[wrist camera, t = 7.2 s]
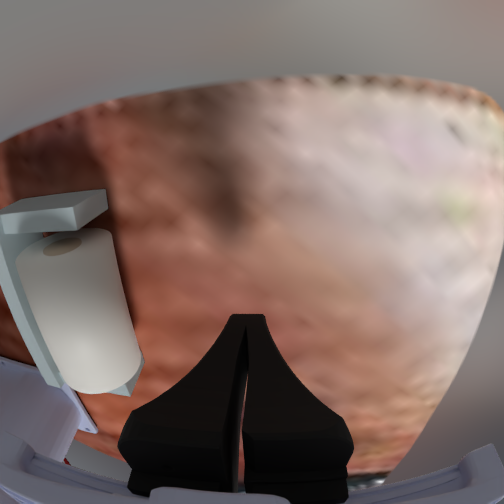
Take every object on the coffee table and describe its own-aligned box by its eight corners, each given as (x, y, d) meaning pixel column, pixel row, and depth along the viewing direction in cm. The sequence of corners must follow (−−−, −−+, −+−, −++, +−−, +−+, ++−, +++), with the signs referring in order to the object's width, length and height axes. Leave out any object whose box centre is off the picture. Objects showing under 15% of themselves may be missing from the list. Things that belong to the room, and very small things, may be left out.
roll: (112, 406, 12) (156, 345, 17) (60, 277, 9) (132, 228, 14) (46, 376, 13) (92, 328, 18) (-3, 263, 11) (63, 225, 15)
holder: (69, 351, 18) (47, 384, 15) (21, 199, 14) (-19, 219, 11) (144, 362, 18) (128, 402, 15) (105, 188, 14) (66, 210, 10)
